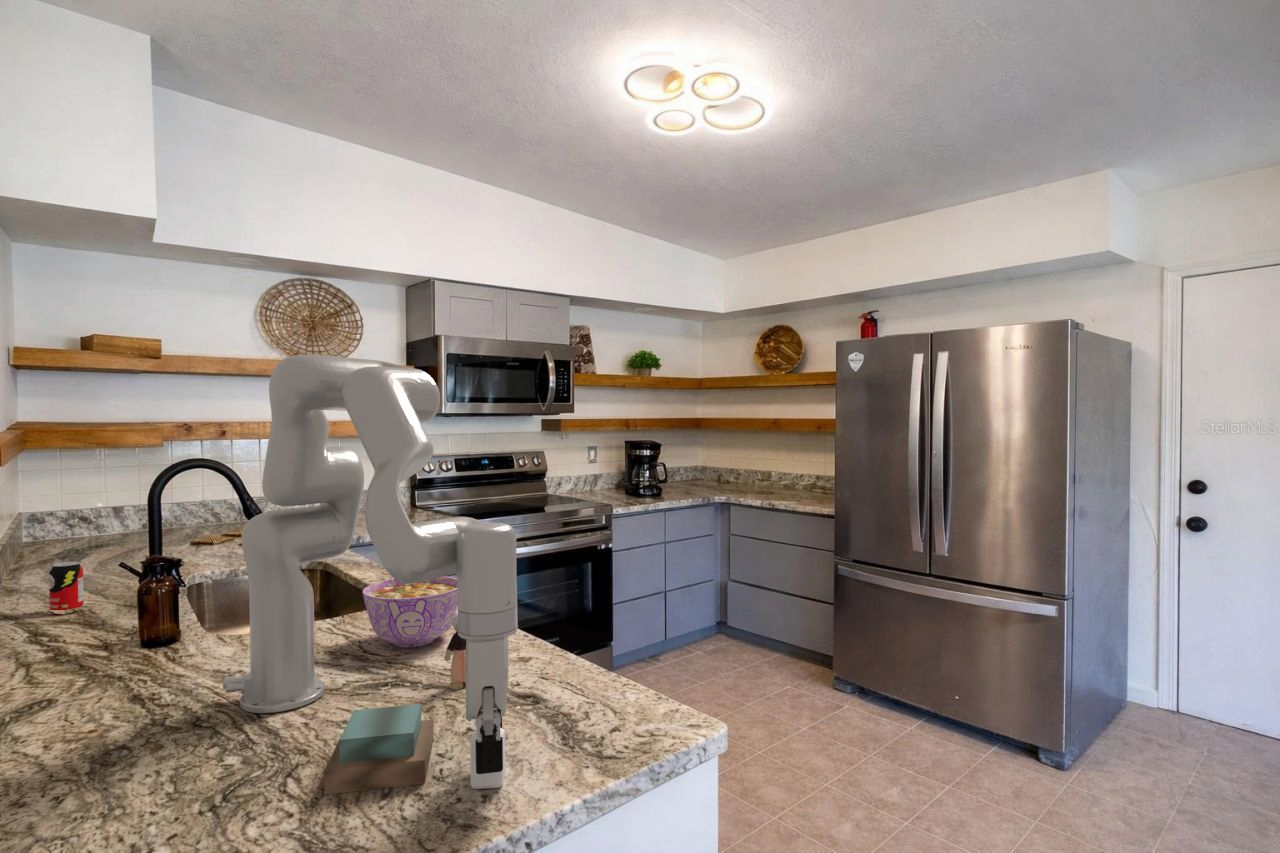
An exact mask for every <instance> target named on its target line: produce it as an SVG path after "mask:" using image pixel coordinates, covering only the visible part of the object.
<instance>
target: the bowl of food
mask: <svg viewBox="0 0 1280 853" xmlns="http://www.w3.org/2000/svg"><path fill="white" fill-rule="evenodd" d="M362 596H363V600H364V605H365V608H366V612H367V615H368V618H369V622H370V625H371V627H372V628H371V629H372V630H373V632H374V633H375V634H376V635H377V637H378V638H379V639H381V640H383V641H386V642H387V643H389V644H393V645H394V646H396V647H398V646H400V648H416V646H418V647H422V646H426V645H429V644H431V643H433V641H435V639H438V638H440V637H441V636H443V635H444V634H446V633H447V631H449V629H450V628H451V627H452V623H451V620H452V617H453V616H454V615H455V614H457V611H458V604H457V602H458V600H457V578H456V577H452V576H451V577H450V576H442V577H438V578H434V579H431V580H427V581H422V582H418V583H411V584H407V583H402V582H399V581H397V580H395V579H394V578H390V579H386V580H380V581H377V582H374V583H372V584H370V585H368V586H366V587H364V588H363V590H362Z"/></svg>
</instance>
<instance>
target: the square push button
mask: <svg viewBox="0 0 1280 853" xmlns="http://www.w3.org/2000/svg"><path fill="white" fill-rule="evenodd" d="M433 744H434V719H426V720H425V719H423V720H422V704H421V703H419V704H418V703H417V704H408V705H398V706H397V705H396V706H385V707H375V708H363V709H354V710H353V711H352V713H351V715H350V716H349V720H348V721H347V724H346V726H345V727H344V729H343V731H342V733H341V735H340V738H339V739H338V741H337V744H336V745H335V747H334V750H333V752H332V754H331V756H330V758H329V759H328V762H327V763H326V766H325V767H324V770H323V784H324V785H323V793H324V794H323V795H333V794H341V793H351V792H360V791H366V790H367V791H369V790H376V789H386V788H395V787H404V786H414V785H422V784H425V783H426V781H427V780H426V779H427V775H428V770H429V764H430V760H431V754H432V749H433Z"/></svg>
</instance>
